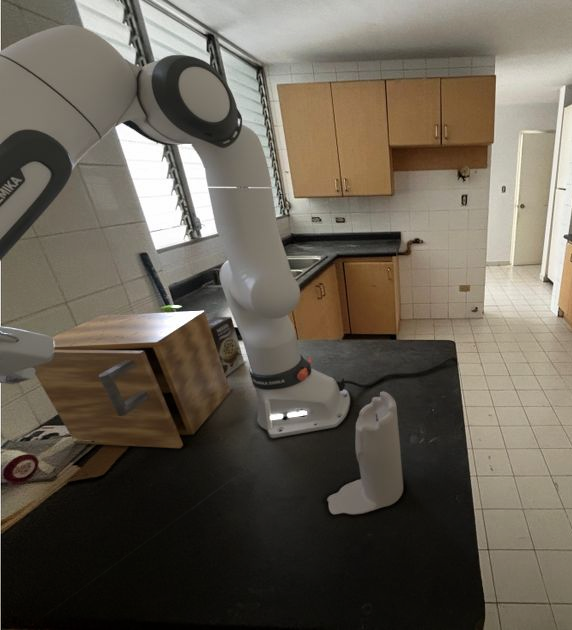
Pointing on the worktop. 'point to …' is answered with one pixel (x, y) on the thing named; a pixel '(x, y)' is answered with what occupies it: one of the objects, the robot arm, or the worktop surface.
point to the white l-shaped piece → (373, 461)
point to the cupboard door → (108, 398)
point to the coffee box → (226, 343)
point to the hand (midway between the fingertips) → (26, 376)
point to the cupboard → (163, 357)
